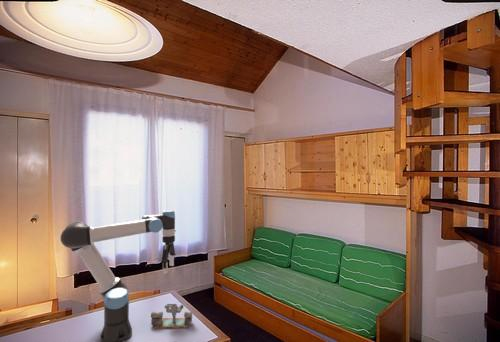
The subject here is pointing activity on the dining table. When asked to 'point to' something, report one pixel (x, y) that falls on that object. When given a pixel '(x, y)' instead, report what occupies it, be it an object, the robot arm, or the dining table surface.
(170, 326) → the mint panel frame
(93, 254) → the robot arm
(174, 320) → the mechanical component
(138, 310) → the dining table surface
